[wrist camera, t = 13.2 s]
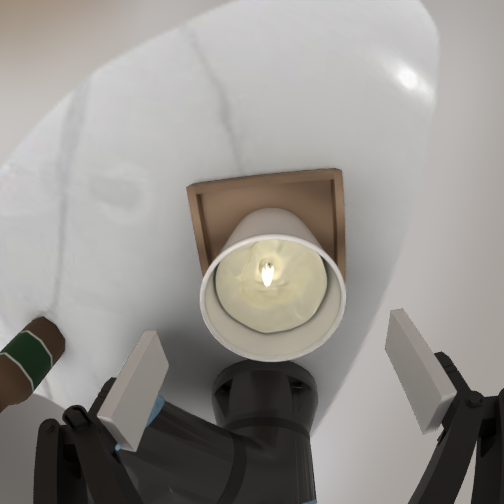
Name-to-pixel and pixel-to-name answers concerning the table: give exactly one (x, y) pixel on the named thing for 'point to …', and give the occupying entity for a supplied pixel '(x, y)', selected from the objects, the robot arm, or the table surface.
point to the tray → (269, 195)
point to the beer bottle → (28, 360)
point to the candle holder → (272, 289)
